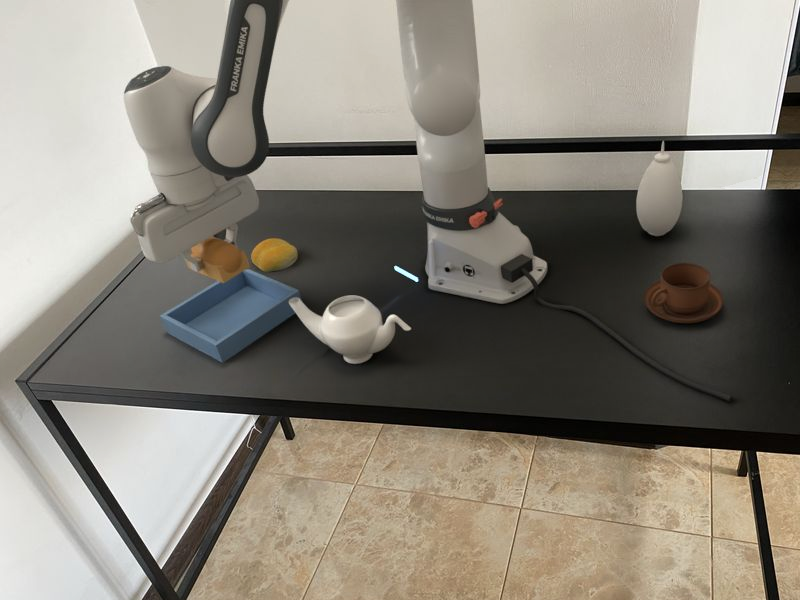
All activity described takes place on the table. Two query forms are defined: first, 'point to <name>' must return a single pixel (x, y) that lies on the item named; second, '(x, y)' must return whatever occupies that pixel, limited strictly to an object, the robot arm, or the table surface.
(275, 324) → the tray
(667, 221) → the white air blower bulb
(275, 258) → the bread roll
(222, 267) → the loaf
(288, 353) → the table surface
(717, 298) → the cup and saucer
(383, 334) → the teapot
